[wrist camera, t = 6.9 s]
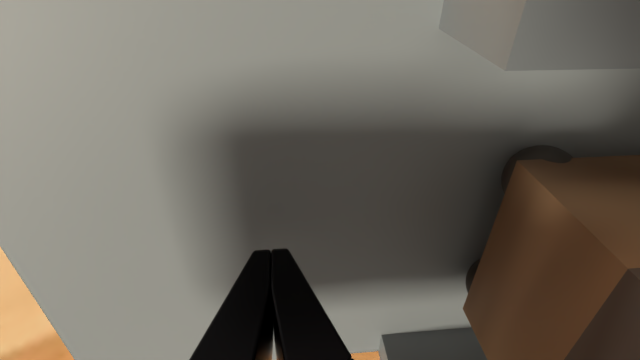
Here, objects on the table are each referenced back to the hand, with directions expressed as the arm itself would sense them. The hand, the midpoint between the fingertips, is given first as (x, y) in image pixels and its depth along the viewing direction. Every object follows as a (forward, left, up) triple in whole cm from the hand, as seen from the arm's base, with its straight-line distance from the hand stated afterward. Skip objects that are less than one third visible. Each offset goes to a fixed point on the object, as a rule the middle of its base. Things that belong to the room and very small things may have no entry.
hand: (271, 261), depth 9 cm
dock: (+4, 0, -1) cm, 4 cm away
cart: (+9, 0, -1) cm, 9 cm away
